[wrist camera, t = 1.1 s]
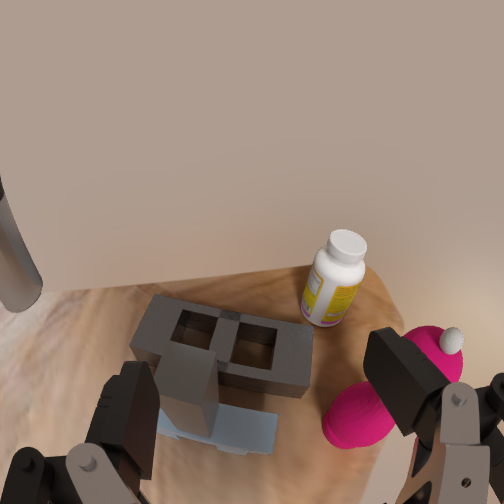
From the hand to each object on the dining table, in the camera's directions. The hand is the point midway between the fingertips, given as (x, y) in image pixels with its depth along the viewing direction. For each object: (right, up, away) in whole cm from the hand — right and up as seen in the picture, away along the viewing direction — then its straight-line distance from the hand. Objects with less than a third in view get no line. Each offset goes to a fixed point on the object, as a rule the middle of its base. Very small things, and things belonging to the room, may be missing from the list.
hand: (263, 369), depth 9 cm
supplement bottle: (+10, -5, +30) cm, 32 cm away
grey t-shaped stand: (-6, -15, +16) cm, 23 cm away
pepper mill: (+11, -16, +17) cm, 26 cm away
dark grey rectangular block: (-4, -9, +23) cm, 25 cm away
